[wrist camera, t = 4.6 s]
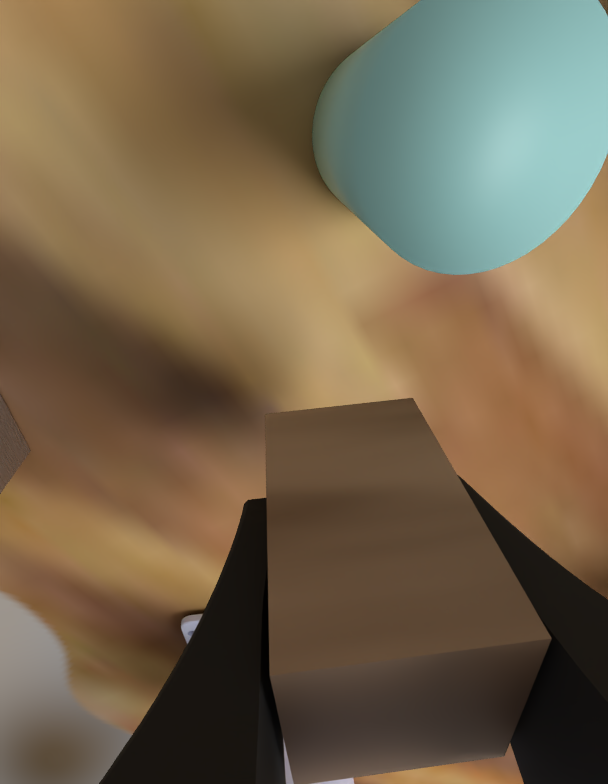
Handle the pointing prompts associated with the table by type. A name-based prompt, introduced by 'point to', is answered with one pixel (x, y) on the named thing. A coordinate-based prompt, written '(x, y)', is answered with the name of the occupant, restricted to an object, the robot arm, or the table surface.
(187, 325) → the table surface
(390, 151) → the round dowel
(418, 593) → the square bit
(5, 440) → the socket block
